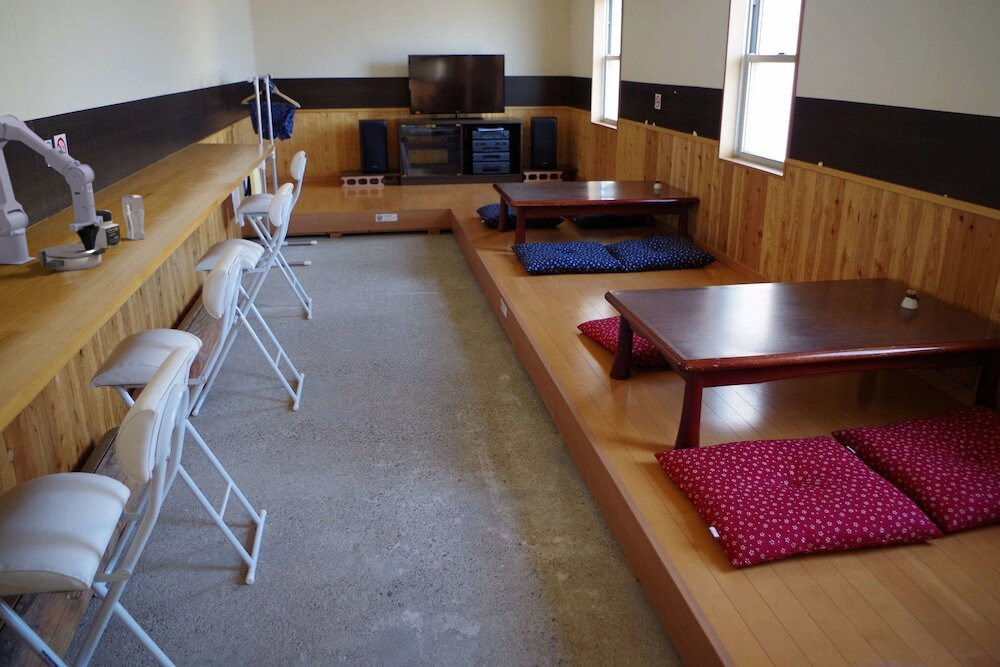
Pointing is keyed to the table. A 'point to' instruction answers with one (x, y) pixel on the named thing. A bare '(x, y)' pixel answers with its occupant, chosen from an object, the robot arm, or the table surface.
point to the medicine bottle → (107, 231)
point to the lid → (72, 251)
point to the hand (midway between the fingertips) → (89, 249)
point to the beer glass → (134, 216)
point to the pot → (69, 262)
